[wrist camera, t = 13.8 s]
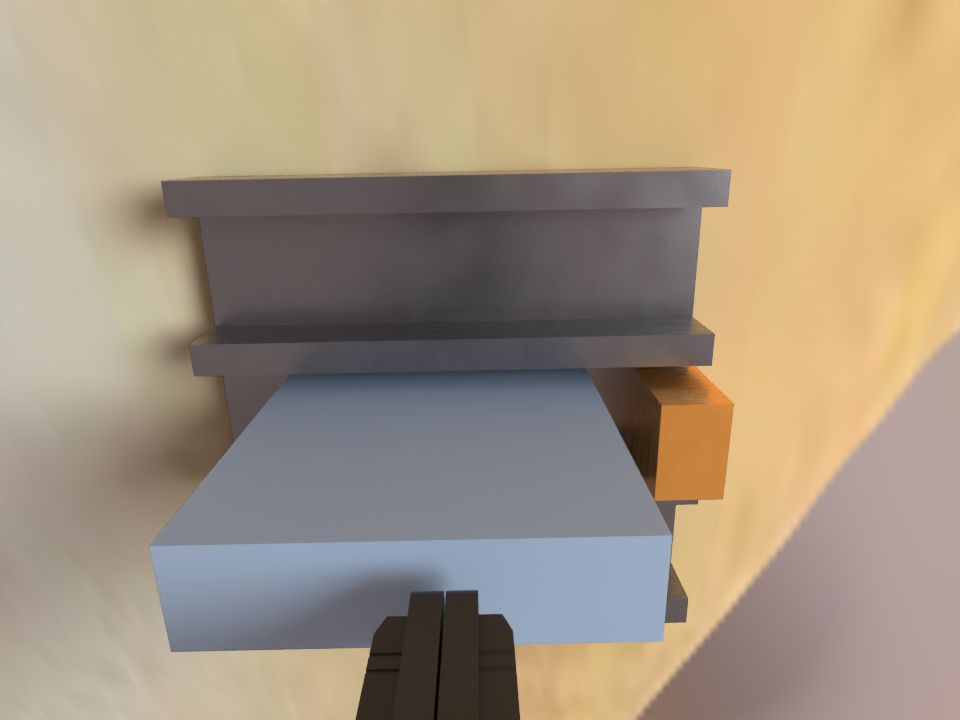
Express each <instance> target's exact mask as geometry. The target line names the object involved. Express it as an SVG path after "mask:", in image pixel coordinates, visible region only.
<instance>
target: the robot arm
mask: <svg viewBox="0 0 960 720" xmlns="http://www.w3.org/2000/svg"><path fill="white" fill-rule="evenodd" d="M356 720H520V712H519V700H518V687H517V674H516V662H515V649H514V636H513V630H512V628H511V627H510V625H509V624H508V622H507V620H506V619H505V617H504V616H503V614H479V603H478V590H453V591H446V597H445V599H444V591H413V592H411V595H410V601H409V608H408V615H407V616H387V617H386V618H385V620H384V621H383V622H382V624H381V625H380V626H379V628H378V629H377V630H376V632H375V633H374V635H373V640H372V645H371V649H370V657H369V659H368V664H367V668H366V674H365V678H364V683H363V687H362V692H361V697H360V701H359V706H358V711H357V716H356Z"/></svg>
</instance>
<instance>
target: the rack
mask: <svg viewBox="0 0 960 720" xmlns="http://www.w3.org/2000/svg"><path fill="white" fill-rule="evenodd" d="M730 178H731V170H728V169H715V168H702V167H677V168H626V169H576V170H526V171H476V172H425V173H375V174H325V175H274V176H224V177H197V178H187V179H177V180H167V181H161V183H162V189H163V195H164V201H165V207H166V213H167V218H184V217H199V222H200V229H201V235H202V242H203V248H204V255H205V261H206V268H207V274H208V281H209V287H210V294H211V300H212V307H213V313H214V320H215V326H216V327H214V328H213V329H212V330H210V331H209V332H207V333H206V334H204V335H203V336H201V337H200V338H198V339H197V340H195V341H194V342H193V343H191V344H190V345H189V349H190V355H191V361H192V366H193V372H194V376H223V378H224V385H225V391H226V398H227V404H228V411H229V417H230V424H231V430H232V437H233V443H234V442H235V441H236V439H237V438H238V437H239V436H240V435H241V433H242V432H243V431H244V430H245V429H246V427H247V426H248V425H249V424H250V422H251V421H252V420H253V419H254V418H255V416H256V415H257V414H258V413H259V411H260V410H261V409H262V408H263V407H264V405H265V404H266V403H267V402H268V400H269V399H270V398H271V397H272V396H273V394H274V393H275V392H276V391H277V390H278V388H279V387H280V386H281V385H282V383H283V382H284V381H285V380H286V379H287V377H288V376H289V375H290V374H329V373H378V372H426V371H474V370H522V369H570V368H586V369H587V371H588V373H589V375H590V377H591V379H592V381H593V382H594V384H595V386H596V388H597V390H598V392H599V394H600V396H601V398H602V400H603V402H604V404H605V406H606V408H607V410H608V412H609V414H610V415H611V417H612V419H613V421H614V423H615V425H616V427H617V429H618V431H619V433H620V435H621V437H622V439H623V441H624V443H625V445H626V446H627V448H628V450H629V452H630V454H631V456H632V458H633V460H634V462H635V464H636V466H637V468H638V470H639V472H640V474H641V476H642V478H643V479H644V481H645V483H646V485H647V487H648V489H649V491H650V493H651V495H652V497H653V499H654V501H655V503H656V505H657V507H658V509H659V511H660V512H661V514H662V516H663V518H664V520H665V522H666V524H667V526H668V528H669V530H670V532H671V534H672V541H673V530H674V519H675V507H676V505H685V504H698V500H715V499H723V495H724V486H725V477H726V469H727V460H728V451H729V442H730V434H731V425H732V416H733V407H734V404H733V403H732V402H731V401H730V400H729V399H728V398H727V397H726V396H725V395H724V394H723V393H722V392H721V391H720V390H719V389H718V388H717V387H716V386H715V385H714V384H713V383H712V382H711V381H710V380H709V379H708V378H707V377H706V376H705V375H704V374H703V373H702V372H701V371H700V370H699V369H698V368H696V367H695V366H712V357H713V347H714V337H715V334H714V333H713V332H711V331H710V330H709V329H707V328H706V327H705V326H703V325H702V324H701V323H700V322H698V321H697V320H696V319H694V318H693V317H692V315H693V303H694V292H695V280H696V269H697V258H698V246H699V235H700V224H701V212H702V207H728V198H729V188H730ZM671 553H672V545H671ZM687 606H688V597H687V595H686V593H685V591H684V589H683V587H682V585H681V583H680V581H679V578H678V576H677V574H676V572H675V570H674V568H673V566H672V564H671V556H670V568H669V579H668V590H667V601H666V612H665V623H678V622H686V616H687Z"/></svg>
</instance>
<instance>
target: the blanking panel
mask: <svg viewBox="0 0 960 720" xmlns="http://www.w3.org/2000/svg"><path fill="white" fill-rule="evenodd" d="M671 545H672V534H671V532H670V530H669V528H668V526H667V524H666V522H665V520H664V518H663V516H662V514H661V512H660V511H659V509H658V507H657V505H656V503H655V501H654V499H653V497H652V495H651V493H650V491H649V489H648V487H647V485H646V483H645V481H644V479H643V478H642V476H641V474H640V472H639V470H638V468H637V466H636V464H635V462H634V460H633V458H632V456H631V454H630V452H629V450H628V448H627V446H626V445H625V443H624V441H623V439H622V437H621V435H620V433H619V431H618V429H617V427H616V425H615V423H614V421H613V419H612V417H611V415H610V414H609V412H608V410H607V408H606V406H605V404H604V402H603V400H602V398H601V396H600V394H599V392H598V390H597V388H596V386H595V384H594V382H593V381H592V379H591V377H590V375H589V373H588V371H587V369H586V368H570V369H522V370H474V371H426V372H378V373H329V374H290V375H289V376H288V377H287V379H286V380H285V381H284V382H283V383H282V385H281V386H280V387H279V388H278V390H277V391H276V392H275V393H274V394H273V396H272V397H271V398H270V399H269V400H268V402H267V403H266V404H265V405H264V407H263V408H262V409H261V410H260V411H259V413H258V414H257V415H256V416H255V418H254V419H253V420H252V421H251V422H250V424H249V425H248V426H247V427H246V429H245V430H244V431H243V432H242V433H241V435H240V436H239V437H238V438H237V439H236V441H235V442H234V443H233V444H232V446H231V447H230V448H229V449H228V450H227V452H226V453H225V454H224V455H223V457H222V458H221V459H220V460H219V461H218V463H217V464H216V465H215V466H214V468H213V469H212V470H211V471H210V472H209V474H208V475H207V476H206V477H205V478H204V480H203V481H202V482H201V483H200V485H199V486H198V487H197V488H196V489H195V491H194V492H193V493H192V494H191V496H190V497H189V498H188V499H187V500H186V502H185V503H184V504H183V505H182V506H181V508H180V509H179V510H178V511H177V513H176V514H175V515H174V516H173V517H172V519H171V520H170V521H169V522H168V524H167V525H166V526H165V527H164V528H163V530H162V531H161V532H160V533H159V535H158V536H157V537H156V538H155V539H154V541H153V542H152V543H151V544H150V545H149V549H150V554H151V559H152V564H153V568H154V573H155V578H156V583H157V587H158V592H159V597H160V602H161V606H162V611H163V616H164V621H165V625H166V630H167V635H168V640H169V644H170V649H171V652H188V651H236V650H283V649H330V648H371V645H372V640H373V635H374V633H375V632H376V630H377V629H378V628H379V626H380V625H381V624H382V622H383V621H384V620H385V618H386V617H387V616H407V615H408V608H409V601H410V595H411V592H413V591H444V599H445V597H446V591H453V590H478V603H479V614H503V616H504V617H505V619H506V620H507V622H508V624H509V625H510V627H511V628H512V630H513V636H514V645H520V644H567V643H614V642H662V641H663V635H664V624H665V612H666V601H667V590H668V579H669V568H670V556H671Z"/></svg>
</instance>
